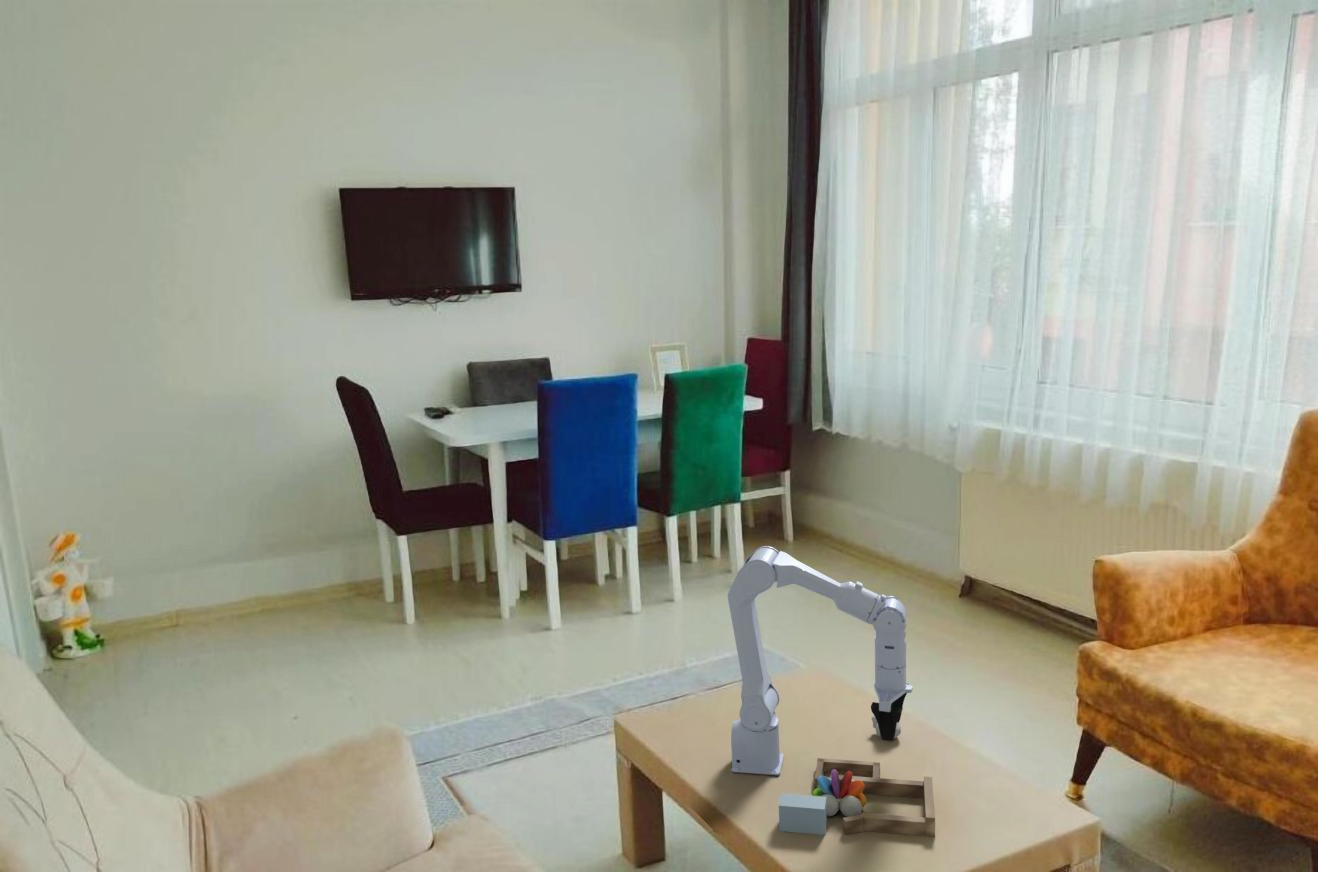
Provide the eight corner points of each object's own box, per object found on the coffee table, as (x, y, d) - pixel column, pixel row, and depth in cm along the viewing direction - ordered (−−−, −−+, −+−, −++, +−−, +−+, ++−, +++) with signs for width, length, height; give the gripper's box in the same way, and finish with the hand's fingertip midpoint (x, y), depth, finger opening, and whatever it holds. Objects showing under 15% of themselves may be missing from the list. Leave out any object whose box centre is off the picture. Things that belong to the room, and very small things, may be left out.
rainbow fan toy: (867, 823, 171) (866, 785, 170) (811, 819, 173) (810, 782, 172) (866, 796, 179) (866, 760, 178) (813, 793, 181) (813, 758, 180)
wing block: (779, 831, 170) (778, 805, 169) (782, 818, 174) (781, 793, 173) (825, 835, 168) (824, 809, 167) (827, 822, 172) (826, 796, 171)
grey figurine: (892, 746, 197) (892, 709, 196) (865, 736, 202) (864, 700, 200) (906, 736, 201) (906, 700, 199) (879, 726, 205) (879, 691, 204)
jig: (808, 831, 169) (807, 813, 169) (817, 767, 190) (817, 751, 190) (935, 842, 164) (935, 823, 164) (930, 775, 185) (930, 758, 185)
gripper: (906, 681, 173) (907, 751, 175) (917, 650, 186) (917, 716, 188) (867, 677, 175) (867, 746, 178) (880, 646, 189) (880, 711, 191)
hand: (890, 730), depth 183 cm, fingers open, 7 cm apart
